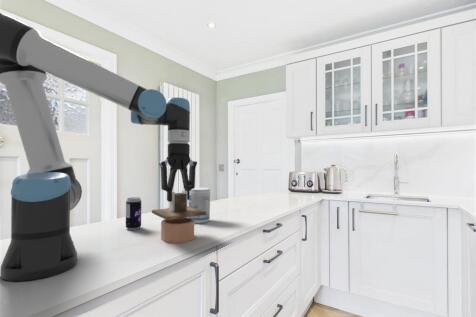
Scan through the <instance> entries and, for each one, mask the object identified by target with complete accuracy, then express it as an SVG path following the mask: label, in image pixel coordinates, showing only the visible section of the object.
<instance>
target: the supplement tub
mask: <svg viewBox="0 0 476 317" xmlns="http://www.w3.org/2000/svg"><path fill="white" fill-rule="evenodd" d="M189 196H190V198H189V200H187V206H189V207H192V208H196V209H199V210H202V211H205V212H206V215H201V216H194V217H187V218H192V219H194V224H206V223H207V222H209V221H210V218H211V216H210V214H211V213H210V211H211V188H209V187H200V186H199V187H198V186H197V187H196V186H195V188H194V189H191V191H190V195H189Z"/></svg>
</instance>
